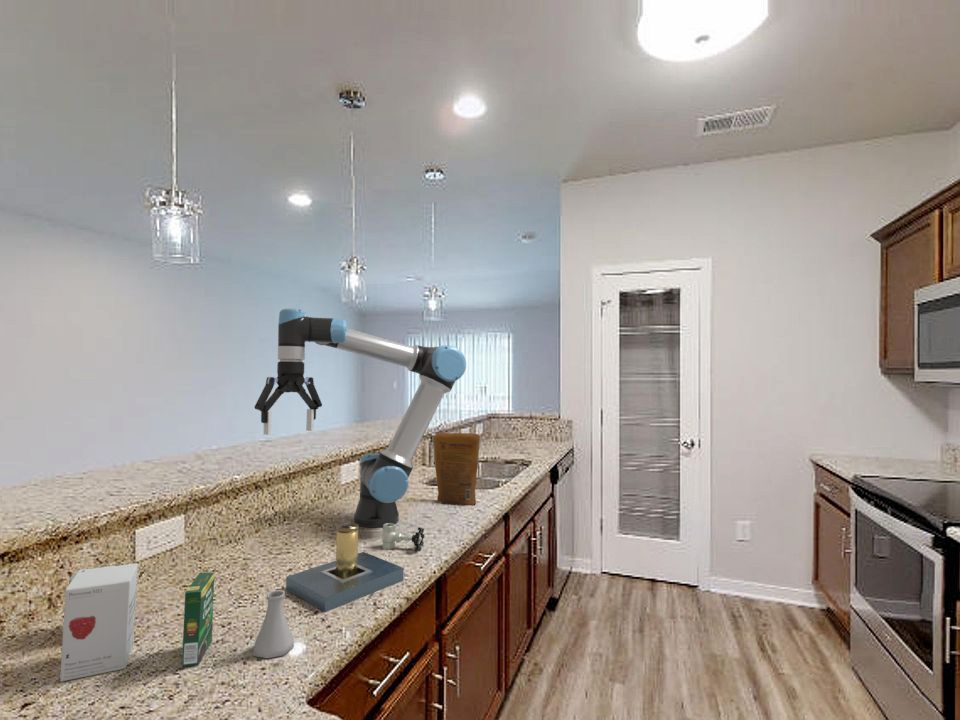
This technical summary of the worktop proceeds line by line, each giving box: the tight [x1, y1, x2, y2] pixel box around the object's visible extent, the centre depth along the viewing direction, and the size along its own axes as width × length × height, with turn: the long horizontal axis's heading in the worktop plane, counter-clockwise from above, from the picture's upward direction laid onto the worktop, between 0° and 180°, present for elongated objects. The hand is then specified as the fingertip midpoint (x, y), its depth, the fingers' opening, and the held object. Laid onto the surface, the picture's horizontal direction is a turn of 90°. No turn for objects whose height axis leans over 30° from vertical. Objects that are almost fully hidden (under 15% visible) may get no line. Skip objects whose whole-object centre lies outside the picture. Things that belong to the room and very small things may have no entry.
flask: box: [252, 589, 295, 659], centre depth 91 cm, size 7×7×10 cm
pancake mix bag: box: [432, 432, 482, 506], centre depth 195 cm, size 7×19×28 cm, turn 74°
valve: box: [381, 523, 425, 552], centre depth 144 cm, size 7×7×12 cm
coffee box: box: [181, 572, 215, 668], centre depth 88 cm, size 8×3×13 cm, turn 13°
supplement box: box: [59, 562, 139, 683], centre depth 85 cm, size 9×9×15 cm
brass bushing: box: [335, 522, 360, 579], centre depth 118 cm, size 5×5×14 cm
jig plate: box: [285, 551, 404, 613], centre depth 118 cm, size 22×16×3 cm
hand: (289, 432), depth 146 cm, fingers open, 13 cm apart
